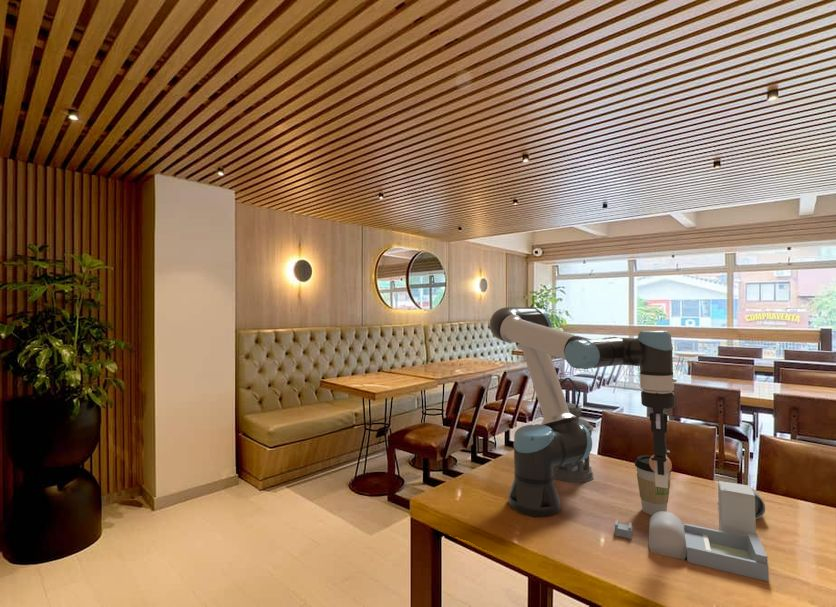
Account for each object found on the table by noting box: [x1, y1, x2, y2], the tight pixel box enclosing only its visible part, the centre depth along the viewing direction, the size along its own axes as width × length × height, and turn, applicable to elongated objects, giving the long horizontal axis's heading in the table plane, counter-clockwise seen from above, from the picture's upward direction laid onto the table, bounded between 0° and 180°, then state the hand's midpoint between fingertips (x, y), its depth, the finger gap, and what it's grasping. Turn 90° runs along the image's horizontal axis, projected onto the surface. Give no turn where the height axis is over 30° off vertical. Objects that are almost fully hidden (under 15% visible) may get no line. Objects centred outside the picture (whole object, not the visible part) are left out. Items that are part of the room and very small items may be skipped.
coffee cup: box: [634, 454, 673, 516], centre depth 124 cm, size 10×10×15 cm
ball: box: [649, 454, 673, 473], centre depth 107 cm, size 5×5×5 cm
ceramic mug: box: [717, 487, 766, 520], centre depth 123 cm, size 11×8×8 cm
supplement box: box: [717, 480, 757, 536], centre depth 111 cm, size 7×7×13 cm
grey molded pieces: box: [614, 511, 770, 582], centre depth 105 cm, size 31×13×8 cm, turn 60°
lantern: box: [554, 377, 595, 484], centre depth 154 cm, size 17×17×35 cm
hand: (661, 482), depth 107 cm, fingers closed on ball, 5 cm apart
